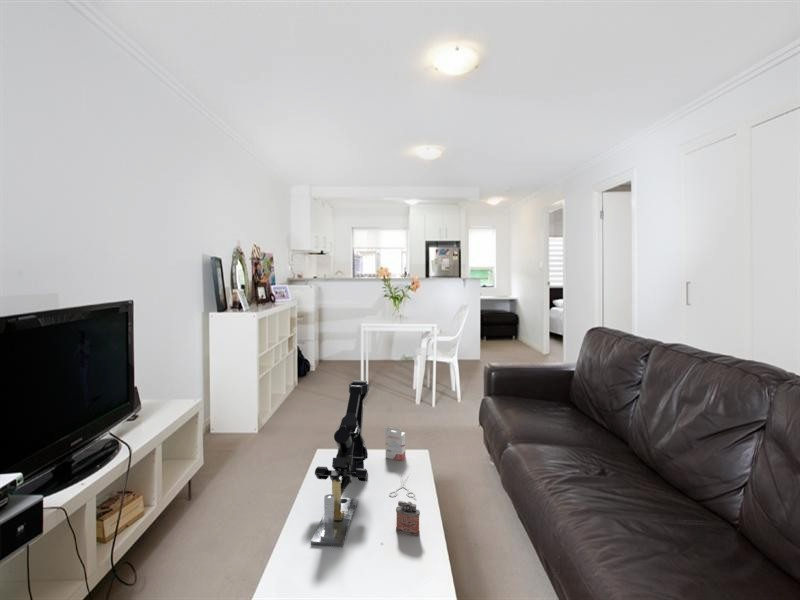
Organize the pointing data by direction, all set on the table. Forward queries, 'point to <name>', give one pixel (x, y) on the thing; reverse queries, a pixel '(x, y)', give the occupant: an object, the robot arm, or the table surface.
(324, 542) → the bolt plate
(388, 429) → the ink cartridge box
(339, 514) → the gold tapered block
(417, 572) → the table surface
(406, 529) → the lighter
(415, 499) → the scissors
